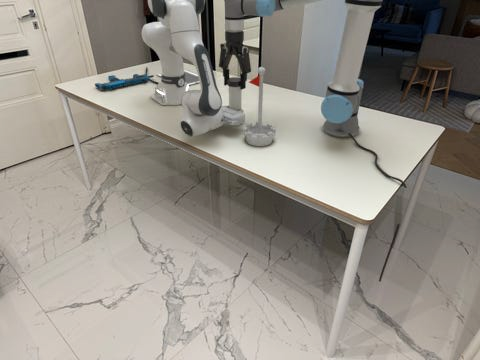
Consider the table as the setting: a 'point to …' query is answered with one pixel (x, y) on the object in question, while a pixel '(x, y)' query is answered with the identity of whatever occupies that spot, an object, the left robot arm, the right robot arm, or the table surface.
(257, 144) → the flag stand
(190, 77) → the tablet
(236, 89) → the jar
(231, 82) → the lid
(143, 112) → the table surface
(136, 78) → the submachine gun
